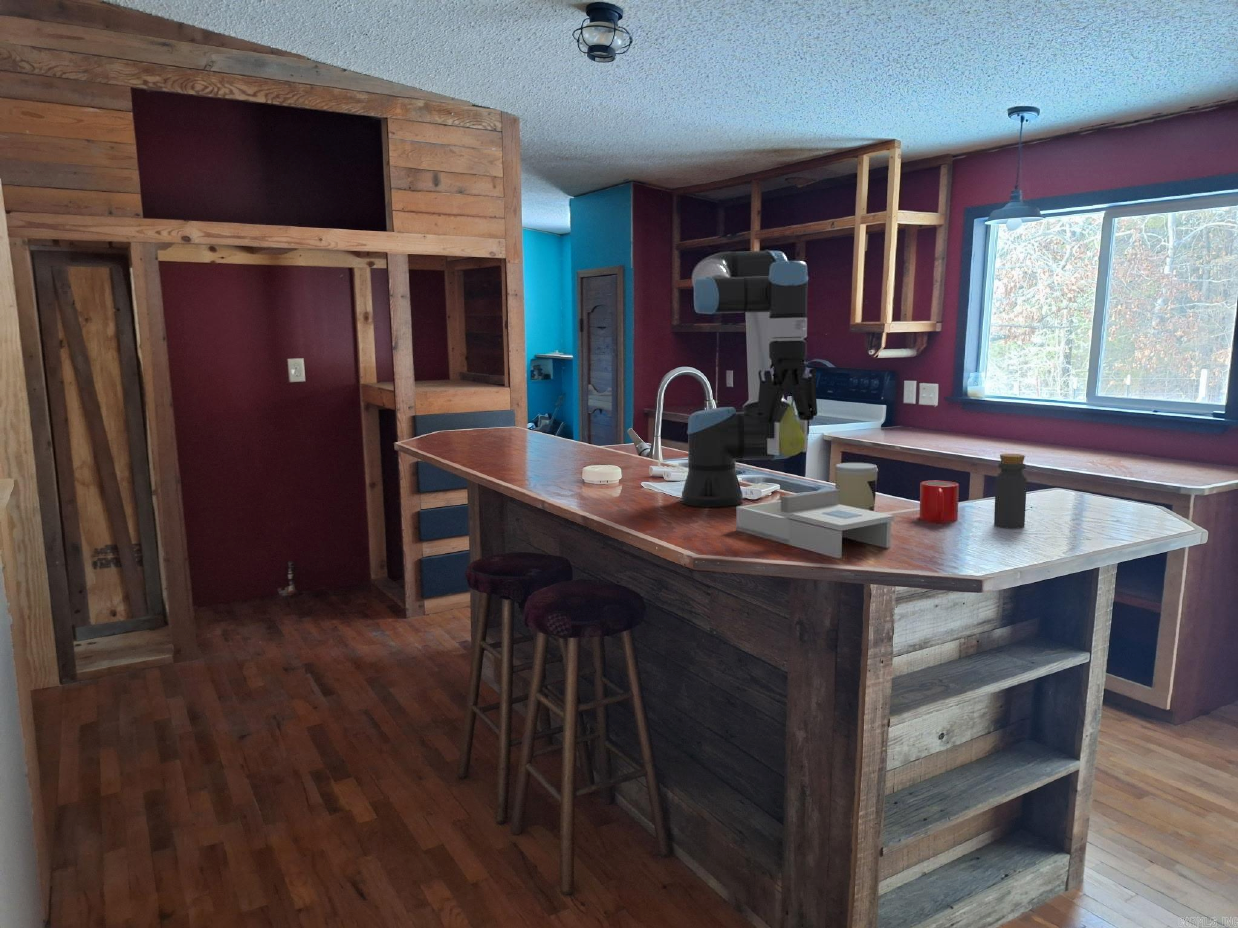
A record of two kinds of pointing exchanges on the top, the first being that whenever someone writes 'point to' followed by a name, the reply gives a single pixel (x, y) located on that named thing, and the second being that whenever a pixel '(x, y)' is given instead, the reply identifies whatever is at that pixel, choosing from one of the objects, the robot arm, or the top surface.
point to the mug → (939, 501)
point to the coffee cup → (856, 484)
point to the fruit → (790, 433)
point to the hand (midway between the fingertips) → (787, 452)
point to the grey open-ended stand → (805, 530)
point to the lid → (828, 511)
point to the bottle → (1010, 492)
